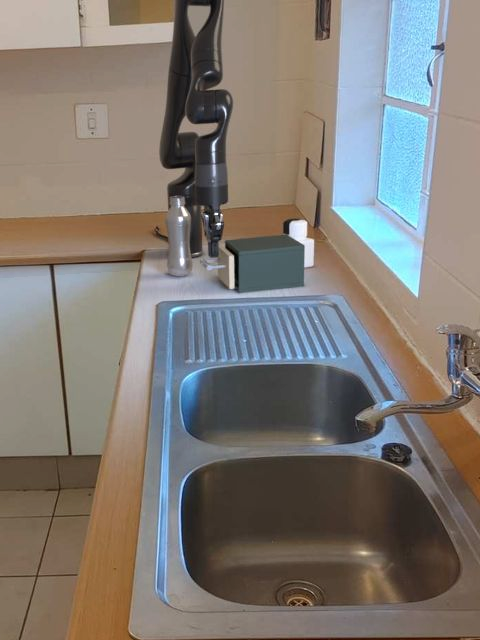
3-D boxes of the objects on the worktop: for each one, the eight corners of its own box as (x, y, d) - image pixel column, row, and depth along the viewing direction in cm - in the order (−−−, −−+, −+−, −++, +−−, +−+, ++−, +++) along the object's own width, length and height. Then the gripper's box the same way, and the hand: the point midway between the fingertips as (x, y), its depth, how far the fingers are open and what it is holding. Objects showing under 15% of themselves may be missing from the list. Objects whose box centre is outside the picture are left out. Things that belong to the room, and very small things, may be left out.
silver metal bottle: (177, 270, 198) (174, 193, 190) (198, 273, 194) (195, 195, 186) (162, 276, 194) (158, 198, 186) (183, 279, 190) (179, 199, 182)
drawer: (209, 291, 176) (208, 258, 173) (198, 278, 186) (197, 247, 183) (289, 283, 178) (289, 250, 175) (274, 271, 189) (274, 239, 186)
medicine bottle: (275, 265, 197) (275, 219, 193) (298, 260, 200) (299, 215, 195) (290, 270, 191) (291, 223, 187) (314, 266, 194) (315, 220, 189)
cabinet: (239, 292, 176) (238, 251, 173) (225, 278, 188) (224, 240, 184) (303, 286, 178) (304, 245, 175) (286, 272, 190) (286, 234, 186)
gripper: (234, 185, 167) (236, 261, 173) (220, 177, 179) (221, 249, 185) (201, 188, 166) (204, 265, 172) (189, 180, 178) (192, 252, 184)
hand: (213, 256), depth 179 cm, fingers closed
